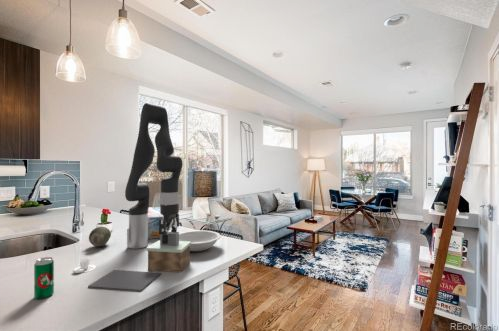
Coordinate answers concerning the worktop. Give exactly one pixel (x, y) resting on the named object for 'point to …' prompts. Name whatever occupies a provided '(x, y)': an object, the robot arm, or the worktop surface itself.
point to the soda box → (154, 222)
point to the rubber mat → (125, 280)
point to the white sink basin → (200, 239)
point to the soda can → (43, 277)
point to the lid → (170, 244)
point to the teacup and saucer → (83, 266)
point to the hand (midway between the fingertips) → (169, 240)
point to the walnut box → (168, 260)
